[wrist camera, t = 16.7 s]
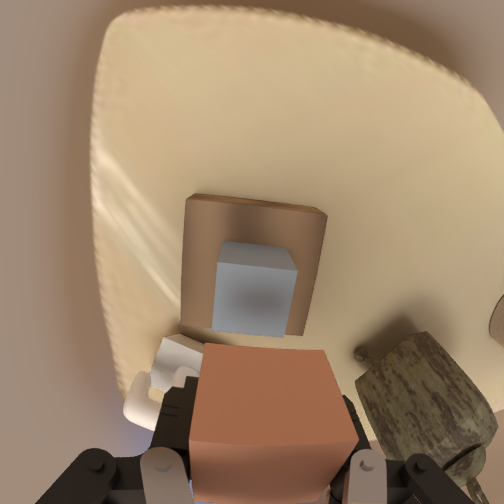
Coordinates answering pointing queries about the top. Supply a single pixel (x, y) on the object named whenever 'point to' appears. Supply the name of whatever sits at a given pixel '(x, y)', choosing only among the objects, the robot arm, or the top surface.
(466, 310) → the top surface
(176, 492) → the robot arm
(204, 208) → the plinth
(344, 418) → the terracotta block
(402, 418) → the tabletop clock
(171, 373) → the figurine
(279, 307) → the blue block
